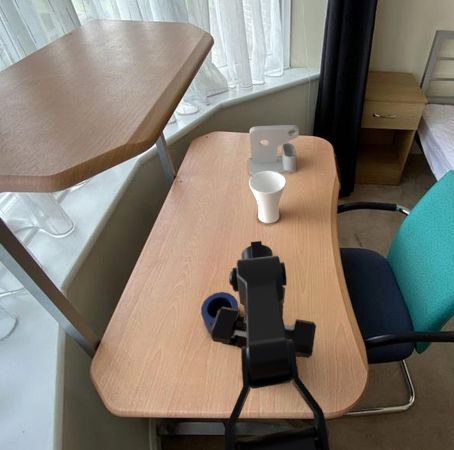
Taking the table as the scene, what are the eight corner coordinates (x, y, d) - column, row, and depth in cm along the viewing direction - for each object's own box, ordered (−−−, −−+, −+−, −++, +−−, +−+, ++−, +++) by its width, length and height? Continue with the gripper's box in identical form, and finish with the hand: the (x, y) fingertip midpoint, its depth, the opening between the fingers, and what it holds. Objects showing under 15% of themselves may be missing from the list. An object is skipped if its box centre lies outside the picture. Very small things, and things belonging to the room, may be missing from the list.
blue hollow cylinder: (234, 340, 72) (231, 326, 68) (200, 334, 73) (195, 320, 68) (244, 310, 78) (242, 295, 73) (213, 304, 78) (208, 289, 74)
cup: (251, 205, 104) (248, 171, 95) (284, 204, 105) (284, 170, 96) (252, 229, 97) (248, 194, 87) (287, 227, 98) (287, 192, 89)
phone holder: (293, 156, 125) (295, 112, 113) (297, 172, 118) (299, 126, 106) (248, 159, 123) (244, 114, 110) (249, 175, 116) (245, 129, 103)
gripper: (322, 280, 60) (316, 322, 71) (224, 265, 61) (233, 308, 72) (314, 337, 52) (309, 374, 63) (202, 317, 53) (216, 357, 64)
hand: (265, 350), depth 66 cm, fingers open, 8 cm apart
